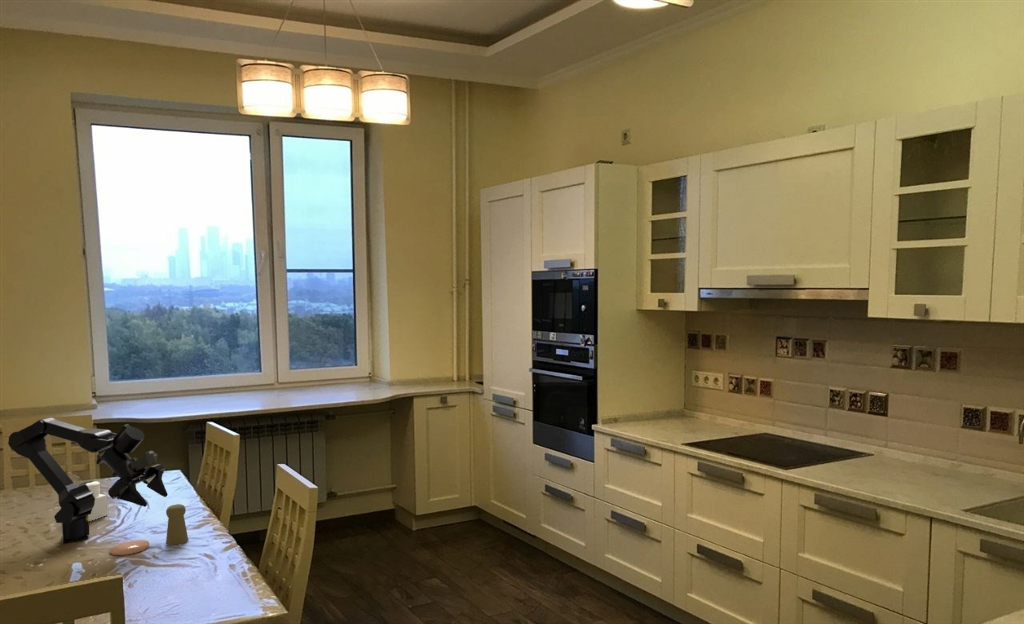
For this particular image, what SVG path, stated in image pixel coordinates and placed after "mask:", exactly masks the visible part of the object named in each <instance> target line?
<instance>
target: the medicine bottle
mask: <svg viewBox="0 0 1024 624" xmlns="http://www.w3.org/2000/svg"><path fill="white" fill-rule="evenodd" d="M83 484H85V485H87V487H88V488H89V490H90V491H91V492H93V493H94V494H92V495H93V496H94V498H95V504H94V507H93V508H92V511H91V514H90V515H87V516H86V520H88V521H90V522H93V521H95V519H96V520H99V519H102V518H104V517H103V516H105V517H107V516H108V502H107V501H108V499H107V494H102V493H101V486H100V484H101V483H100V481H98V480H97V481H96V480H88V481H87V480H86V481H84V482H81V483H80V484H79V485H78V486H80V485H83ZM106 515H107V516H106ZM101 517H102V518H101ZM98 518H99V519H98ZM92 520H93V521H92Z"/></svg>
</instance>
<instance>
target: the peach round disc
mask: <svg viewBox="0 0 1024 624" xmlns="http://www.w3.org/2000/svg"><path fill="white" fill-rule="evenodd" d="M148 548H150V542H149V540H146V539H133V540H129V541H127V540H126V541H123V542H120V543H117V544H114V545H113V546H112V547H110V549H109V553H110V555H112V556H117V555H122V556H130V555H134V554H133V553H135V554H138V553H140V551H141V552H143V550H144V551H146V550H147V549H148ZM145 549H146V550H145ZM137 552H138V553H137ZM129 554H130V555H129Z"/></svg>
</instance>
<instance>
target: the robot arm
mask: <svg viewBox="0 0 1024 624" xmlns="http://www.w3.org/2000/svg"><path fill="white" fill-rule="evenodd" d="M47 436H52V437H55V438H60V439H62V440H67V441H70V442H72V443H76V444H78V446H79V447H80V448H81V449H83V450H85V451H87V452H89V453H97V452H100V451H103V452H102V453H99V454H97V455H96V460H95V461H96V462H95V464H96V465H100V464H103V463H104V464H106V466H108V468H110V469H111V471H112V472H113V473H112V474H111V475H112V477H113V478H116V477H118V479H116V481H115V482H114V483H113V484H112V485H111V486H110V488H109V489H108V490H107V491H108V492H107V493H108V496H109V497H110V498H111V499H112V500H115V499H116V500H121V501H125V502H129V503H132V504H135V505H138V506H141V507H147V506H148V503H147V500H146V499H145V498H144V496H143V495H142V494H141V493H140V492H139V491H138V489H137V484H139V483H143V484H145V485H146V487H147V488H149V490H152V491H153V492H155V493H156V494H157V495H160V496H162V497H163V498H166V497H167V496H168V495H169V494H168V492H167V489H166V487H165V484H164V481H163V474H164V473H165V470H166V467H164V466H163V465H162V464H161V463H159V464H158V461H157V460H158V454H157V453H156V452H155V451H153V450H149V451H147V452H145V453H144V456H141V457H139V458H137V457H131V456H130V455H129V454H131V453H132V452H134V450H135V449H136V448H137V447H139V445H140V444H141V442H143V440H144V439H145V433H144V432H143V431H142V430H141V429H139V428H138V427H134V426H131V425H130V424H128V423H127V424H124V425H123V426H121V428H120V430H119V431H118V432H117V433H115V432H112V431H111V430H109V429H104V428H85V427H82V426H79V425H74V424H71V423H68V422H64V421H61V420H59V419H56V418H54V417H47V418H42V419H38V420H37V421H36V422H33V423H32V424H30V425H29V426H26V427H25V428H23V429H20V430H17V431H14V432H12V433H11V434H10V435H9V438H8V442H7V444H8V446H9V448H10V449H11V450H12V451H13V452H15V453H16V455H18V456H21V457H24V458H26V459H28V460H29V461H30V462H31V463H32V465H33V466H34V467H35V468H36V469H37V470H38V472H39V473H40V474H41V475H42V477H43V478H44V479H45V480H46V481H47V483H48V484H49V485H50V486H51V488H52V489H53V490H54V491H55V492H56V494H57V495H58V505H59V507H60V509H59V510H58V512H56V513H55V515H54V520H55V522H56V524H61V541H62V544H68V543H73V542H78V541H83V540H87V539H89V536H90V522H89V521H88V520H86V516H87V515H90V514H91V511H92V508H93V507H94V504H95V498H94V496H93V495H92V494H94V493H93V492H91V491H90V490H89V488H88V487H87V485H85V484H83V485H80V486H79V485H78V484H76V483H75V482H73V480H72V479H71V478H70V477H69V476H68V474H67V473H66V471H64V469H63V468H62V466H60V465H59V463H58V462H57V461H56V459H55V457H53V456H52V455H51V453H50V452H49V451H48V450H47V447H46V439H45V437H47ZM156 463H157V464H156ZM153 464H155V465H153ZM148 467H149V468H148Z"/></svg>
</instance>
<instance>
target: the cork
mask: <svg viewBox="0 0 1024 624" xmlns="http://www.w3.org/2000/svg"><path fill="white" fill-rule="evenodd" d="M165 510H166V511H165V514H166V517H167V519H168V521H167V528H166V539H165V544H167V545H166V546H168V545H171V546H172V545H176V546H180V545H179V544H181V545H184V544H187V543H188V542H189V537H188V532H187V526H186V525H187V524H186V521H185V514H186V506H185V505H184V504H181V503H180V504H173V505H169V506H168V507H167V508H166V509H165ZM187 541H188V542H187ZM183 543H184V544H183ZM171 546H170V547H171Z"/></svg>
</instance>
